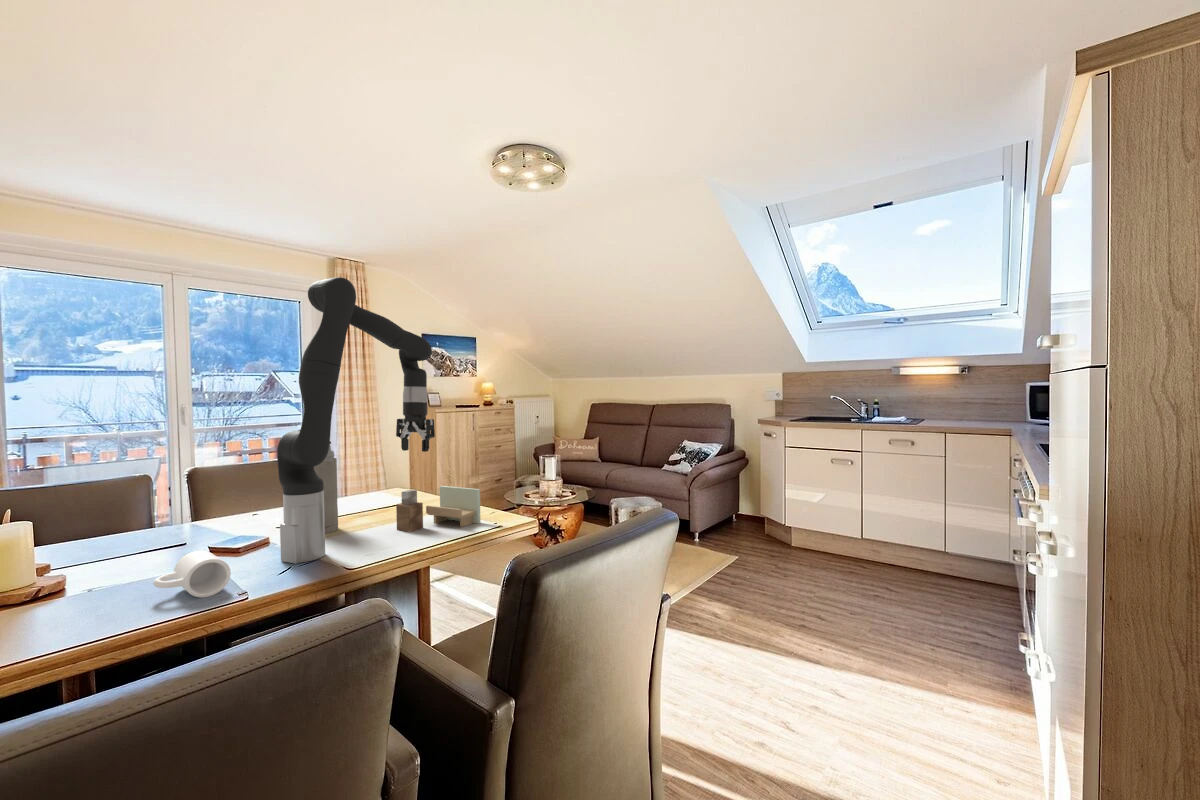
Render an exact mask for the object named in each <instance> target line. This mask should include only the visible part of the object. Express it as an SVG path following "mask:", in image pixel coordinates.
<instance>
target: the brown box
mask: <svg viewBox="0 0 1200 800" xmlns="http://www.w3.org/2000/svg"><path fill="white" fill-rule="evenodd" d="M423 505H424V503H423V502H419V501H418V489H409V490H405V491H404V490H403V491H401V502H400V503H397V504H396V508H395V509H396V510H395V511H396V512H395V513H396V531H401V530H402V532H408V531H410V532H409V533H412V532H415V531H417V529H418V530H421V529H423V528H424V511H423V510H424V506H423ZM420 528H421V529H420ZM414 530H415V531H414Z"/></svg>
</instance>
